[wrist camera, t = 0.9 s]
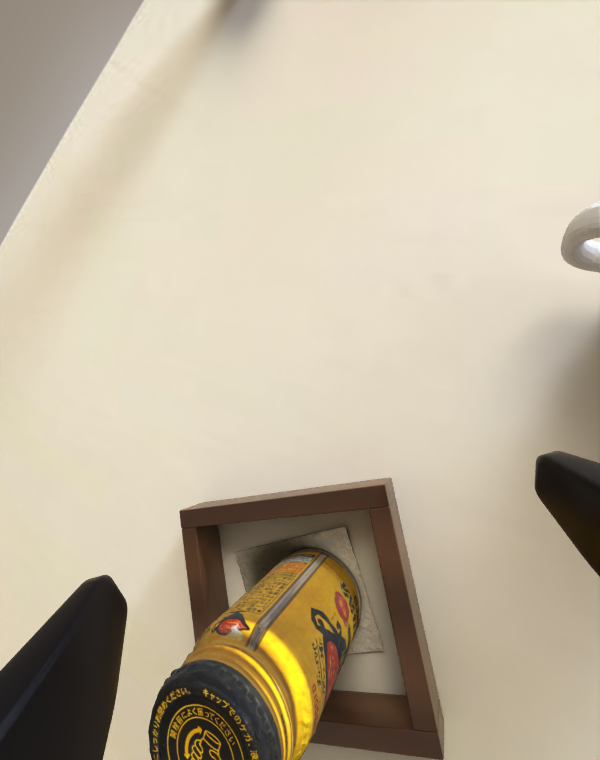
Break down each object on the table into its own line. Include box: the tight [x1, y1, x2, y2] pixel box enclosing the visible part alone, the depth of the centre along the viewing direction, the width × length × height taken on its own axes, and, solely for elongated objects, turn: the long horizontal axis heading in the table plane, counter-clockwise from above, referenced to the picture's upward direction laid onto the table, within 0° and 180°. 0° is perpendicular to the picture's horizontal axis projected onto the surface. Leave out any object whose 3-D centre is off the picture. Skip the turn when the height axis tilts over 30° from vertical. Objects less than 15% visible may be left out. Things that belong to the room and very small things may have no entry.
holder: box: [180, 478, 444, 760], centre depth 23 cm, size 13×14×2 cm
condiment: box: [148, 526, 384, 760], centre depth 18 cm, size 7×8×12 cm
